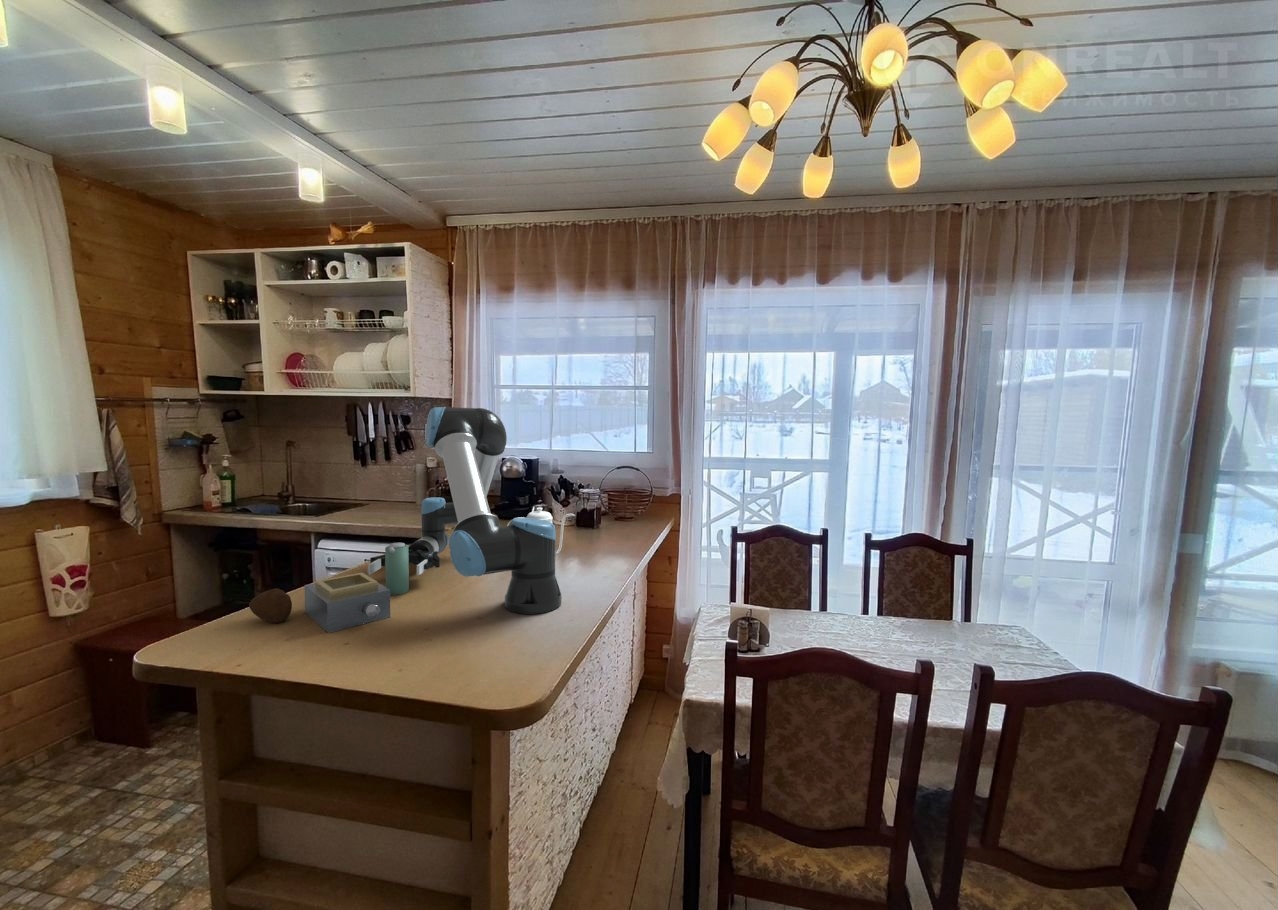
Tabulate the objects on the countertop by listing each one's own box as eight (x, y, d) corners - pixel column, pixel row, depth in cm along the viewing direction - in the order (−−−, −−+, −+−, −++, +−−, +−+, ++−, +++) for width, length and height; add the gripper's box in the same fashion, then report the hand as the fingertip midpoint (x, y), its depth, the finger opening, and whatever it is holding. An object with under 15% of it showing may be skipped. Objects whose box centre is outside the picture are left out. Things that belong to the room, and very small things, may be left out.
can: (391, 588, 152) (390, 541, 151) (412, 588, 152) (411, 541, 151) (379, 596, 145) (379, 547, 144) (401, 596, 145) (401, 548, 144)
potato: (277, 628, 122) (276, 595, 121) (242, 624, 124) (240, 592, 123) (303, 617, 129) (302, 585, 129) (269, 613, 131) (268, 582, 130)
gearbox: (395, 620, 128) (394, 586, 128) (332, 636, 118) (331, 600, 117) (363, 599, 142) (363, 568, 142) (305, 612, 132) (304, 579, 132)
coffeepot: (571, 565, 179) (572, 511, 178) (501, 562, 181) (501, 508, 180) (578, 557, 190) (578, 506, 188) (511, 554, 192) (511, 503, 191)
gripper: (461, 562, 168) (438, 583, 147) (383, 562, 167) (348, 582, 146) (461, 540, 168) (438, 557, 147) (383, 539, 167) (348, 556, 146)
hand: (393, 570), depth 146 cm, fingers open, 13 cm apart
